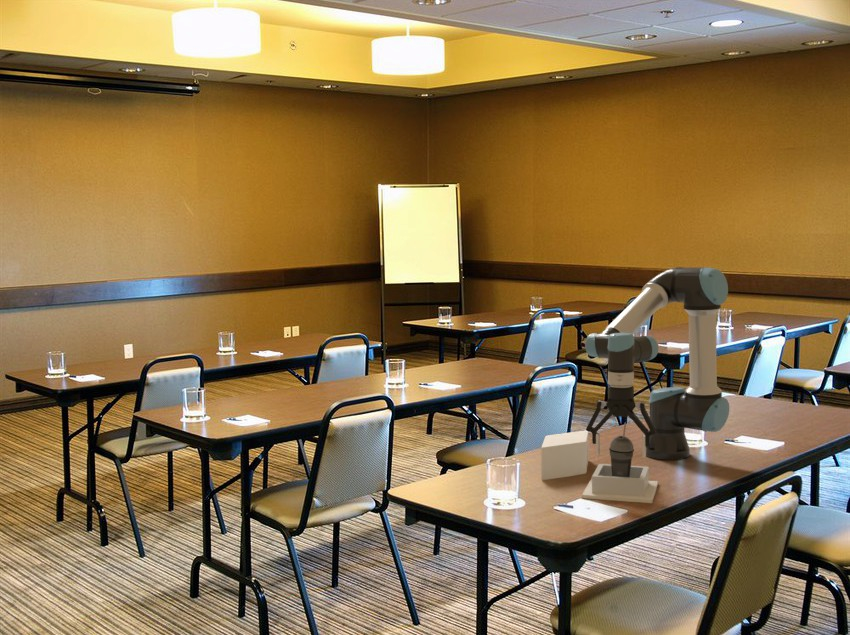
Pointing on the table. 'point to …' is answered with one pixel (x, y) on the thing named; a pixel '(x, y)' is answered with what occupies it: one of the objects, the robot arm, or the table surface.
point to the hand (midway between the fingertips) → (620, 456)
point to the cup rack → (621, 485)
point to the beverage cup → (621, 455)
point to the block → (564, 455)
